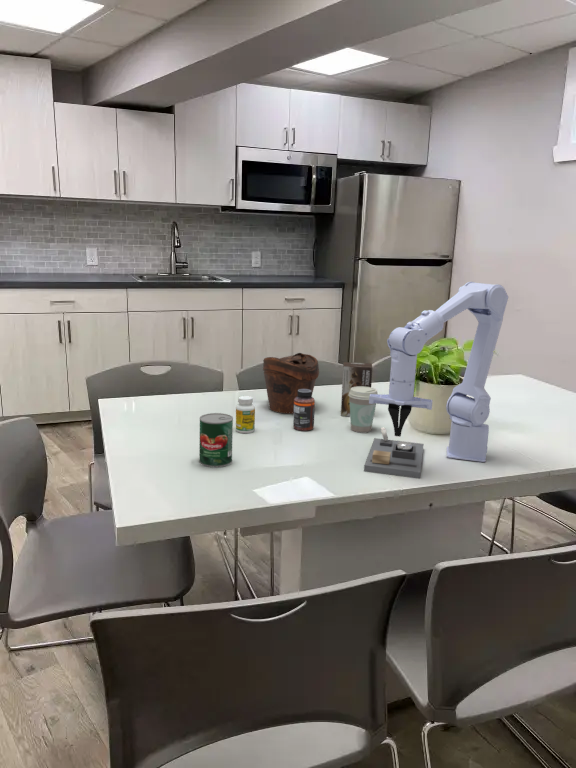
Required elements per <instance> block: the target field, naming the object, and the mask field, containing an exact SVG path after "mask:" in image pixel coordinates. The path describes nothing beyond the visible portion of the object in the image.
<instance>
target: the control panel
mask: <svg viewBox="0 0 576 768" xmlns="http://www.w3.org/2000/svg"><path fill="white" fill-rule="evenodd" d="M398 442H401V440H394V439H388V440H384V439H383V438H376V437H374V439H373V441H372V443H371V447H370V448H369V451H368V455H367V456H366V460H365V462H364V465H363V472H367V473H368V472H369V473H374V474H383V475H389V476H390V475H392V476H399V477H407V478H415V479H420V478H421V472H422V463H423V455H424V454H423V453H424V443H421V442H419V443H418V442H411V441H408V442H409V443H411V444H412V451H411V452H407V451H398V450H397V443H398ZM374 450H377V451H385V452H391V455H390V462H389V465H388V464H380V463H372V456H373V452H374Z"/></svg>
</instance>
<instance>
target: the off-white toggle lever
mask: <svg viewBox="0 0 576 768" xmlns="http://www.w3.org/2000/svg"><path fill="white" fill-rule="evenodd" d="M380 431H381V435H382V439H384V440H389V436H388V432H387V430H386V428H385V427H381V428H380Z"/></svg>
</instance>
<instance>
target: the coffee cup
mask: <svg viewBox="0 0 576 768" xmlns="http://www.w3.org/2000/svg"><path fill="white" fill-rule="evenodd" d="M370 394H379V393H378V389H376V388H374V387H372V386H371V387H364V386H357V387H352V388H351V389H350V392H349V399H350V416H349V418H350V430H351V431H353V432H357V433H362V434H364V433H370V432H371V431H372V427H373V422H374V416H375V412H376V407H377V404H376V403H374V404H369V396H370Z"/></svg>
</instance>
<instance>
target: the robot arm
mask: <svg viewBox="0 0 576 768" xmlns="http://www.w3.org/2000/svg"><path fill="white" fill-rule="evenodd" d="M508 301H509V295H508V293H507V292H506V289H505V287H504V286H503V285H501V284H498V283H496V284H493V283H483V282H475V281H468V282H466V283H465V284H464V285H461V286H460V287H459V288H458V290H457V293H455V294H454V295H453V296H452V297H451V298H449V299H448V300H446V302H444V303H443V304H442V305H441V306H439V307H438V308H437V309H436V310H432V309H428V310H423V311H422V312H421V313H420V315H419V316H418V317H416V318H415V319H413V320H412V321H408V322H407V323H406V325H404V327H400V326H399V327H395V328H394V329H393V330H392V331H391V332H390V334H389V336H388V338H386V339H387V340H386V344H387V347H388V348H389V356H390V357H391V359H390V360H391V361H390V372H389V385H388V387H389V389H388V394H385V393H384V394H383V393H382V394H381V393H378V394H370V396H369V404H374V403H376V405H378V404H379V405H386V406H387V405H388V407H387V410H388V411H387V412H388V414H389V416H390V418H391V419H390V420H391V421H392V426H393V431H394V432H393V434H394V437H401V436H402V431H403V427H404V425H405V423H406V421H407V420H408V417H409V416H410V414H411V412H412V408H415V409H416V408H419V409H426V410H431V411H432V410H433V399H429V398H428V399H427V398H422V397H418V396H415V395H414V394H415V393H414V392H415V382H416V381H415V380H416V372H417V371H416V370H417V361H418V354H420V353H421V352H422V350H423V349H424V347H425V344H426V343H427V342H428V341H429V340H430V339H432V338H433V337H435V336H436V335H437V334H439V333H440V332H442V331H443V329H444V324H445V322H447V321H449V320H452V319H453V318H454V317H456V316H458V315H459V314H460V313H463V312H464V311H466V310H468V311H469V312H470V313H471V314H472V315H473V316H474V317H475V318H476V320H477V322H478V323H477V327H476V331H475V335H474V337H473V341H472V346H471V349H470V353H469V357H468V361H467V364H466V368H465V371H464V376H463V377H462V378H463V379H462V382H461V383H459V384H458V385H456V386H454V387H453V389H452V392H451V394H450V396H449V398H448V399H447V402H446V406H445V409H446V412H447V414H448V415H449V419H450V420H451V422H450V431H449V433H450V434H449V442H448V445H447V446H446V458H448V459H456V460H464V461H472V462H473V461H474V462H479V463H485V462H487V461H486V458H487V453H488V442H489V433H490V431H489V430H490V427H489V424H486V421H487V420H488V418H489V416H490V413H491V412H490V404H491V399H492V398H491V395H490V394H489V393H488V392H487V390H486V389H485V387H486V382H487V378H488V375H489V371H490V368H491V364H492V360H493V357H494V354H495V350H496V346H497V343H498V338H499V336H500V331H501V328H502V324H503V320H504V315H505V311H506V308H507V304H508ZM493 351H494V352H493Z"/></svg>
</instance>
